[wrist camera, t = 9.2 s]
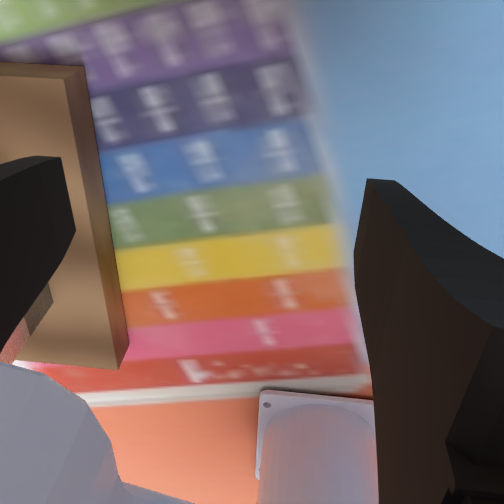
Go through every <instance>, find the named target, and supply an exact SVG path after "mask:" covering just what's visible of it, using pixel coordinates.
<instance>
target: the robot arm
mask: <svg viewBox="0 0 504 504" xmlns="http://www.w3.org/2000/svg"><path fill="white" fill-rule="evenodd" d="M75 232H76V227H75V222H74V217H73V212H72V208H71V203H70V198H69V193H68V188H67V184H66V179H65V174H64V169H63V165H62V160H61V157H52V156H37V155H36V156H29V157H24V158H20V159H16V160H13V161H9V162H6V163H3V164H0V353H1V352H2V350H3V348H4V346H5V344H6V343H7V341H8V340H9V338H10V336H11V335H12V333H13V332H14V330H15V329H16V327H17V326H18V324H19V323H20V321H21V320H22V319H23V317H24V316H25V314H26V313H27V311H28V310H29V309H30V307H31V306H32V304H33V303H34V302H35V300H36V299H37V297H38V296H39V294H40V293H41V292H42V290H43V289H44V287H45V286H46V284H47V283H48V282H49V280H50V279H51V277H52V276H53V274H54V273H55V271H56V270H57V268H58V267H59V265H60V264H61V262H62V260H63V258H64V256H65V254H66V252H67V250H68V248H69V246H70V244H71V242H72V239H73V237H74V235H75ZM354 277H355V290H356V296H357V301H358V306H359V312H360V317H361V322H362V327H363V333H364V338H365V343H366V348H367V353H368V359H369V364H370V371H371V379H372V390H373V400H365V399H355V398H345V397H335V396H325V395H315V394H305V393H295V392H286V391H276V390H264V391H262V392H261V393H260V397H259V414H258V431H257V449H256V466H255V478H256V479H257V480H259V487H258V497H257V504H504V259H503V258H501V257H500V256H498V255H496V254H494V253H492V252H491V251H489V250H487V249H485V248H484V247H482V246H481V245H479V244H477V243H476V242H474V241H473V240H471V239H470V238H468V237H467V236H466V235H464V234H463V233H461V232H460V231H458V230H457V229H455V228H454V227H453V226H451V225H450V224H449V223H447V222H446V221H445V220H443V219H442V218H441V217H440V216H438V215H437V214H436V213H434V212H433V211H432V210H431V209H430V208H428V207H427V206H426V205H425V204H423V203H422V202H421V201H420V200H419V199H417V198H416V197H415V196H414V195H413V194H412V193H410V192H409V191H408V190H407V189H406V188H404V187H403V186H402V185H400V184H399V183H398V182H396V181H394V180H381V179H367V181H366V187H365V192H364V198H363V203H362V209H361V215H360V220H359V226H358V231H357V237H356V242H355V248H354ZM267 402H268V403H267ZM0 504H194V503H191V502H187V501H184V500H181V499H178V498H174V497H171V496H168V495H165V494H162V493H158V492H155V491H152V490H149V489H145V488H142V487H139V486H136V485H132V484H129V483H125V482H122V481H121V479H120V477H119V475H118V471H117V467H116V462H115V458H114V453H113V449H112V445H111V441H110V439H109V438H108V436H107V434H106V433H105V431H104V430H103V428H102V427H101V425H100V423H99V422H98V420H97V419H96V417H95V415H94V414H93V412H92V411H91V409H90V408H89V406H88V404H87V403H86V401H85V400H83V399H82V398H80V397H79V396H77V395H76V394H74V393H73V392H71V391H70V390H68V389H67V388H65V387H64V386H62V385H61V384H59V383H57V382H56V381H54V380H53V379H51V378H50V377H48V376H47V375H45V374H44V373H40V372H36V371H33V370H29V369H25V368H22V367H18V366H14V365H11V364H7V363H3V362H0Z"/></svg>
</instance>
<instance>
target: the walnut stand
mask: <svg viewBox="0 0 504 504" xmlns="http://www.w3.org/2000/svg"><path fill="white" fill-rule="evenodd" d="M36 155H37V156H52V157H61V160H62V165H63V169H64V174H65V179H66V184H67V188H68V193H69V198H70V203H71V208H72V212H73V217H74V222H75V227H76V232H75V235H74V237H73V239H72V242H71V244H70V246H69V248H68V250H67V252H66V254H65V256H64V258H63V260H62V262H61V264H60V265H59V267H58V268H57V270H56V271H55V273H54V274H53V276H52V277H51V279H50V280H49V282H48V283H49V287H50V291H51V295H52V298H53V302H54V303H53V304H52V306H51V307H50V309H49V310H48V312H47V313H46V314H45V316H44V317H43V319H42V320H41V322H40V323H39V325H38V326H37V328H36V329H35V331H34V332H33V334H32V335H31V337H30V338H29V339H28V341H27V342H26V344H25V345H24V347H23V348H22V350H21V351H20V353H19V354H18V356H17V357H16V359H15V360H21V361H31V362H41V363H51V364H61V365H71V366H81V367H91V368H101V369H111V370H118V369H119V367H120V365H121V362H122V360H123V358H124V355H125V353H126V351H127V349H128V346H129V341H128V335H127V328H126V322H125V316H124V310H123V304H122V298H121V291H120V285H119V279H118V273H117V267H116V260H115V254H114V248H113V242H112V236H111V230H110V223H109V217H108V211H107V205H106V199H105V193H104V186H103V180H102V174H101V168H100V162H99V155H98V149H97V143H96V137H95V131H94V125H93V118H92V112H91V106H90V100H89V94H88V88H87V81H86V75H85V69H84V66H67V65H49V64H31V63H14V62H0V164H3V163H6V162H9V161H13V160H16V159H20V158H24V157H29V156H36Z"/></svg>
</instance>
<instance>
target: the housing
mask: <svg viewBox="0 0 504 504" xmlns="http://www.w3.org/2000/svg"><path fill="white" fill-rule="evenodd" d="M53 303H54V302H53V298H52V295H51V291H50V287H49V283H47V284H46V286H45V287H44V289H43V290H42V292H41V293H40V294H39V296H38V297H37V299H36V300H35V302H34V303H33V304H32V306H31V307H30V309H29V310H28V311H27V313H26V314H25V316H24V317H23V319H22V320H21V321H20V323H19V324H18V326H17V327H16V329H15V330H14V332H13V333H12V335H11V336H10V338H9V340H8V341H7V343H6V344H5V346H4V348H3V350H2V352H1V353H0V362H3V363H7V364H11V365H12V363H13V362H14V360H15V359H16V357H17V356H18V354H19V353H20V351H21V350H22V348H23V347H24V345H25V344H26V342H27V341H28V339H29V338H30V337H31V335H32V334H33V332H34V331H35V329H36V328H37V326H38V325H39V323H40V322H41V320H42V319H43V317H44V316H45V314H46V313H47V312H48V310H49V309H50V307H51V306H52V304H53Z"/></svg>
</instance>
